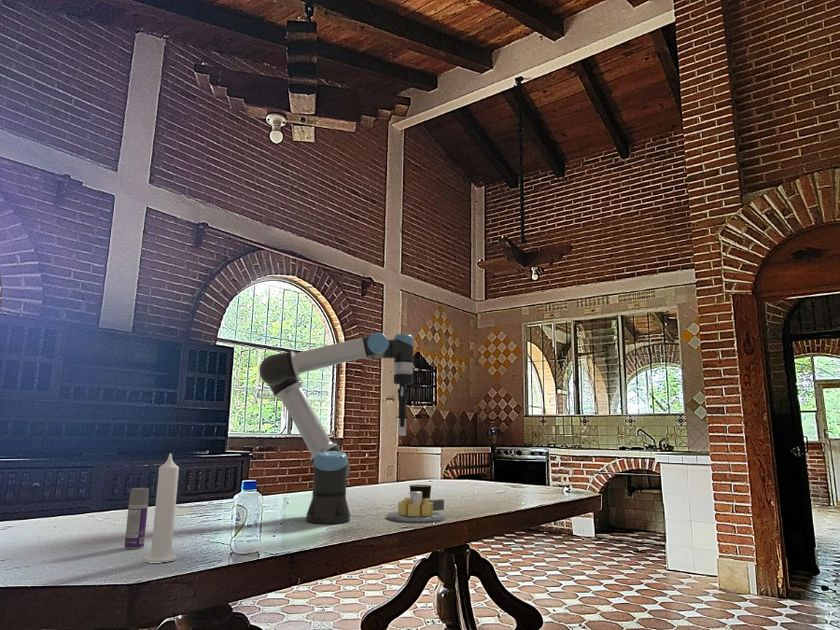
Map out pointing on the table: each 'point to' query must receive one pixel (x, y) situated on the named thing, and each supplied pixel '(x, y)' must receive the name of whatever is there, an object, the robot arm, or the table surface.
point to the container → (136, 518)
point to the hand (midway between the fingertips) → (402, 435)
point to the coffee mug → (422, 490)
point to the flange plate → (416, 499)
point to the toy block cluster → (420, 507)
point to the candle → (164, 513)
